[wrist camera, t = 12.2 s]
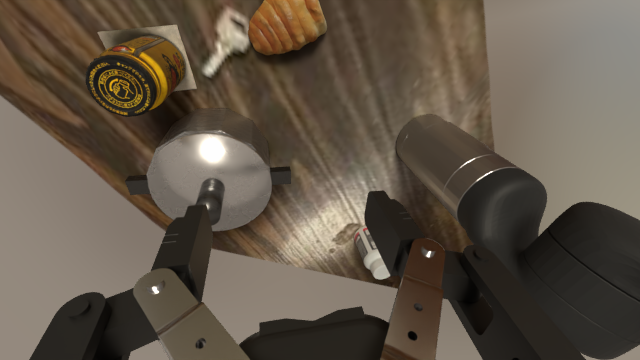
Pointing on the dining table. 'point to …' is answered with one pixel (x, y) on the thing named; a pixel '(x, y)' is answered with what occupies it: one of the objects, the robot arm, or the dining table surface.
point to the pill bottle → (370, 253)
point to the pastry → (286, 25)
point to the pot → (222, 123)
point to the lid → (210, 178)
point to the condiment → (139, 69)
